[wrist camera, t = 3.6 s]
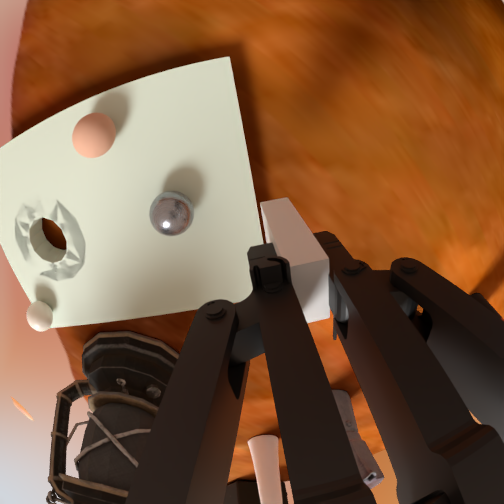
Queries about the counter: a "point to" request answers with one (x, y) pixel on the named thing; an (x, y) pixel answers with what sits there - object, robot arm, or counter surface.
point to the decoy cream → (39, 316)
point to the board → (134, 201)
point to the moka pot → (357, 442)
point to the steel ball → (171, 213)
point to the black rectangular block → (247, 493)
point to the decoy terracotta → (93, 135)
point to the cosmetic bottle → (266, 468)
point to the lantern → (110, 416)
